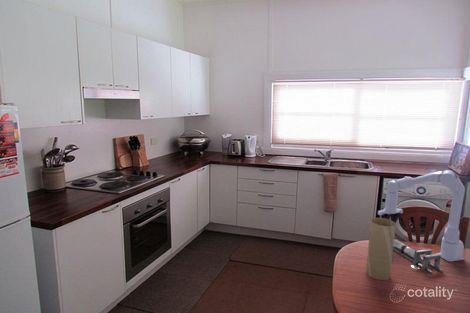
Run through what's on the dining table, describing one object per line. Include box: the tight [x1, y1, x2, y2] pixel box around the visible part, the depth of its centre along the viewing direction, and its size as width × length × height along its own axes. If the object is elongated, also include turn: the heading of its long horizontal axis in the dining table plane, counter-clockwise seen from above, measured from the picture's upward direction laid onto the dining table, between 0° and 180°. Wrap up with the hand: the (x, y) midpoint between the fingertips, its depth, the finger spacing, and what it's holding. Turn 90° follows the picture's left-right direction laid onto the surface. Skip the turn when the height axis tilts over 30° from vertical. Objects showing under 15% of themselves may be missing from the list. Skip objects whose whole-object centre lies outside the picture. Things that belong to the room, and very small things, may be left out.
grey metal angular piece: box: [393, 247, 444, 275], centre depth 157 cm, size 12×25×7 cm, turn 15°
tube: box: [365, 217, 397, 281], centre depth 143 cm, size 10×10×25 cm
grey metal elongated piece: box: [393, 238, 422, 261], centre depth 164 cm, size 16×4×4 cm, turn 15°
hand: (388, 226), depth 175 cm, fingers open, 4 cm apart
